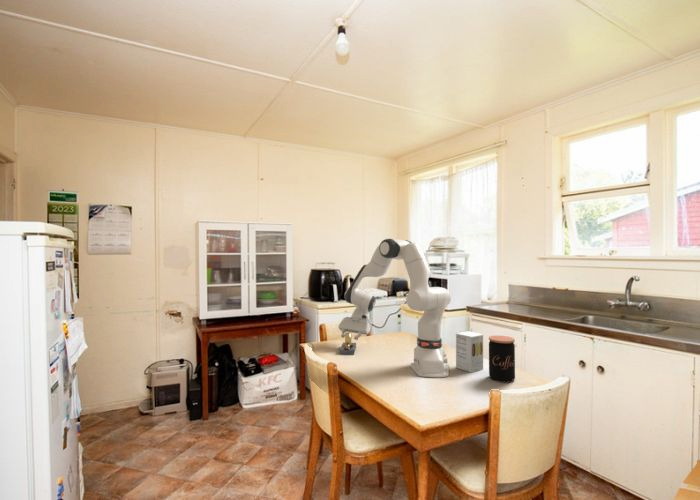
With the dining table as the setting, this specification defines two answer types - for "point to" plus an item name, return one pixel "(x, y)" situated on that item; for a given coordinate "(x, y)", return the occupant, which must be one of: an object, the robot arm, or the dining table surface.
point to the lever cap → (348, 338)
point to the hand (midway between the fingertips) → (348, 338)
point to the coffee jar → (502, 358)
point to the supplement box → (469, 351)
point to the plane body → (348, 349)
